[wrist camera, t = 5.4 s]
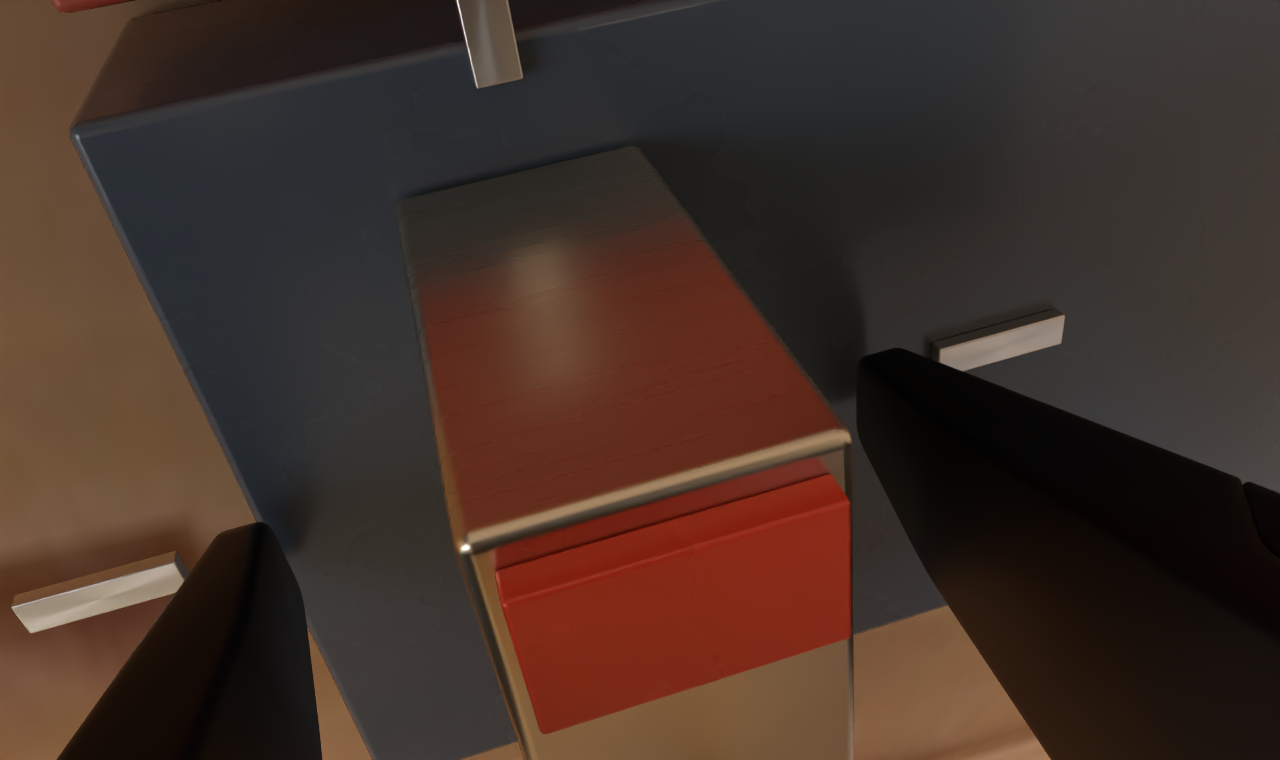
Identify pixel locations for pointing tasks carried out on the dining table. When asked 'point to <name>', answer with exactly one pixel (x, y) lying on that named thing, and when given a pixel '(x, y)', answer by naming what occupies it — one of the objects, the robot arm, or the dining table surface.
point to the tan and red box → (631, 473)
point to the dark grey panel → (724, 211)
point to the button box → (82, 4)
